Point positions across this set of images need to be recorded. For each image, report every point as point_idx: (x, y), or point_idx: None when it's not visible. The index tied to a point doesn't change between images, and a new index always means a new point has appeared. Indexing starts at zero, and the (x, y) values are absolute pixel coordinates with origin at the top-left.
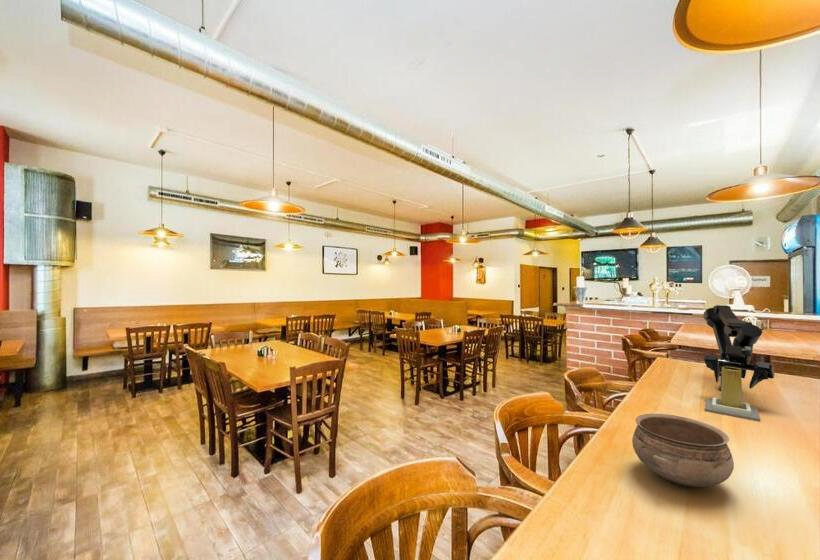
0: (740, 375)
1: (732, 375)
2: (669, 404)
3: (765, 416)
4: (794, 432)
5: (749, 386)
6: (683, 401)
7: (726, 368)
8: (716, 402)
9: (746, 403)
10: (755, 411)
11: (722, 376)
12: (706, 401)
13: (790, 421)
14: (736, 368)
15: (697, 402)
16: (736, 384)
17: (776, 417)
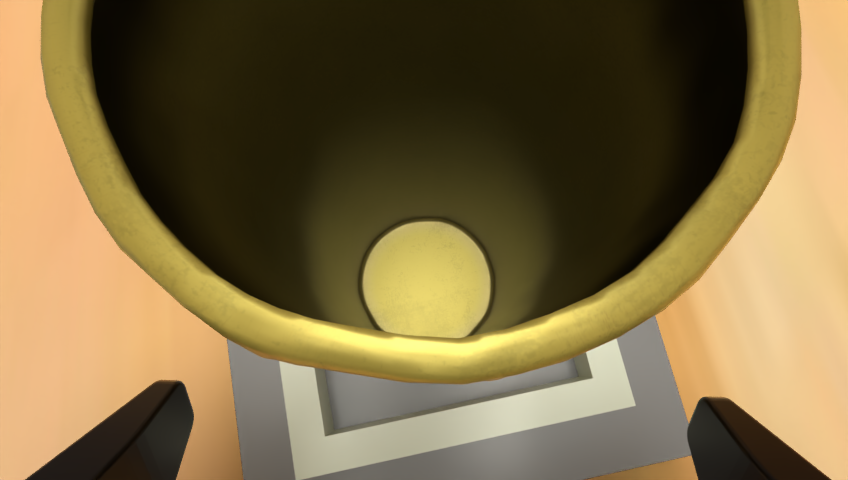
0: (188, 61)
1: None
2: (817, 24)
3: (185, 343)
4: (17, 73)
5: (175, 386)
6: (798, 220)
7: (658, 242)
8: (576, 375)
9: (318, 441)
10: (249, 356)
11: (597, 101)
12: (651, 328)
13: (16, 362)
14: (267, 310)
15: (709, 300)
16: (327, 97)
17: (109, 395)
